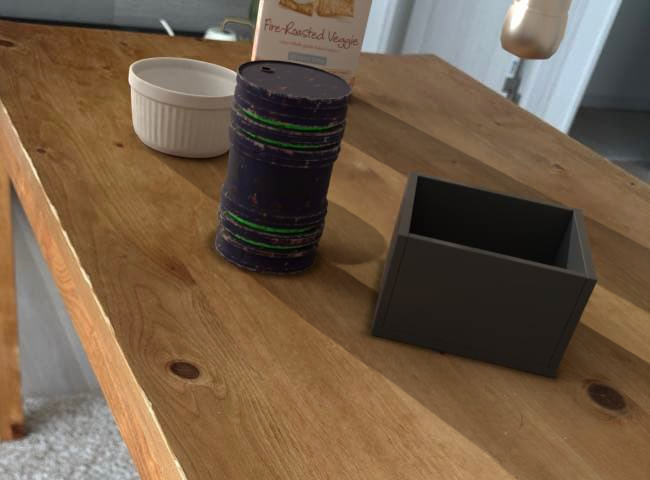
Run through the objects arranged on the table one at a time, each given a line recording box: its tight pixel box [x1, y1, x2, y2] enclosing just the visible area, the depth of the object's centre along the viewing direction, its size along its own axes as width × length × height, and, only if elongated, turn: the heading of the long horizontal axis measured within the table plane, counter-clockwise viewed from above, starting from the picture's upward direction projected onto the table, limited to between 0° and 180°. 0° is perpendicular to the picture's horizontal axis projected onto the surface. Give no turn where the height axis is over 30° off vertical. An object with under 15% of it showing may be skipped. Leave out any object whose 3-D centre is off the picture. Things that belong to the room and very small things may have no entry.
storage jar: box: [214, 60, 353, 276], centre depth 77 cm, size 10×10×15 cm
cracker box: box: [250, 0, 373, 94], centre depth 114 cm, size 14×6×21 cm, turn 92°
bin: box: [370, 170, 598, 378], centre depth 75 cm, size 16×15×9 cm
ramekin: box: [128, 56, 237, 159], centre depth 97 cm, size 13×13×7 cm
